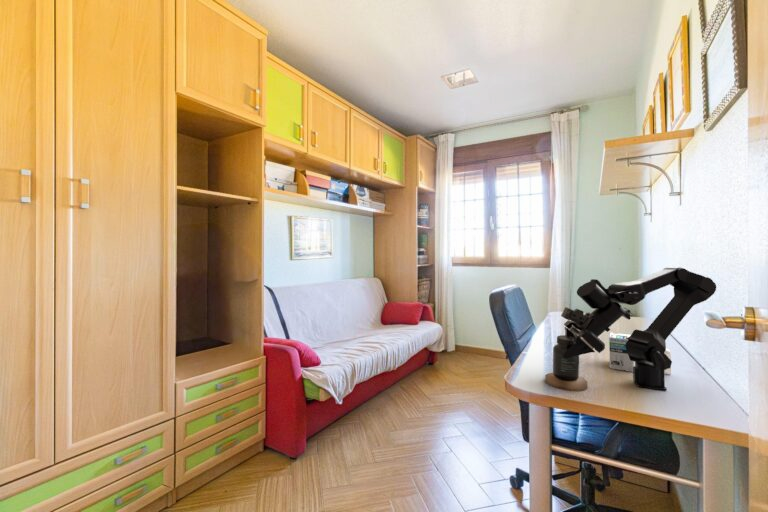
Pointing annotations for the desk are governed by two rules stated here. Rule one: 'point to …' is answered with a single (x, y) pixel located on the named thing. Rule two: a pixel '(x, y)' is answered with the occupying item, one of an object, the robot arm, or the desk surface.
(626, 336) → the light bulb box
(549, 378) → the walnut coaster
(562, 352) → the supplement bottle
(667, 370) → the eye dropper bottle
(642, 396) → the desk surface
